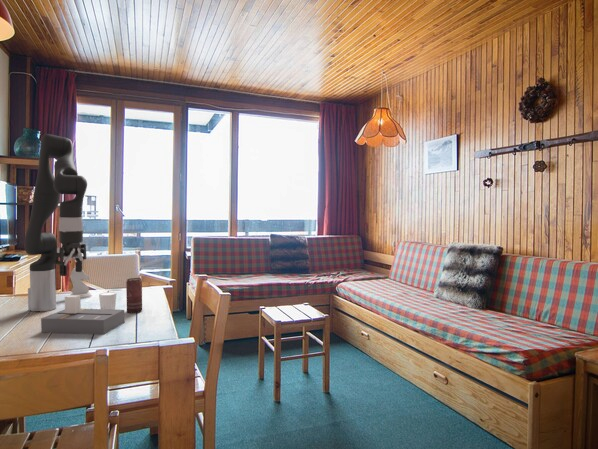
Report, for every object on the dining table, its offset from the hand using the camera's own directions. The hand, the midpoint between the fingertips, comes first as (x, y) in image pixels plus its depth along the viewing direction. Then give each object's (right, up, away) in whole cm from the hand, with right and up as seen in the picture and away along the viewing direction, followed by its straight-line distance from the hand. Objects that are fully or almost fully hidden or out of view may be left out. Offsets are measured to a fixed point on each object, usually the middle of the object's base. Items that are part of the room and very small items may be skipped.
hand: (71, 273), depth 144 cm
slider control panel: (+5, -20, +1) cm, 20 cm away
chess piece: (-24, -18, +50) cm, 58 cm away
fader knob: (0, -16, +1) cm, 16 cm away
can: (+14, -19, +23) cm, 33 cm away
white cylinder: (+1, -19, +26) cm, 32 cm away
